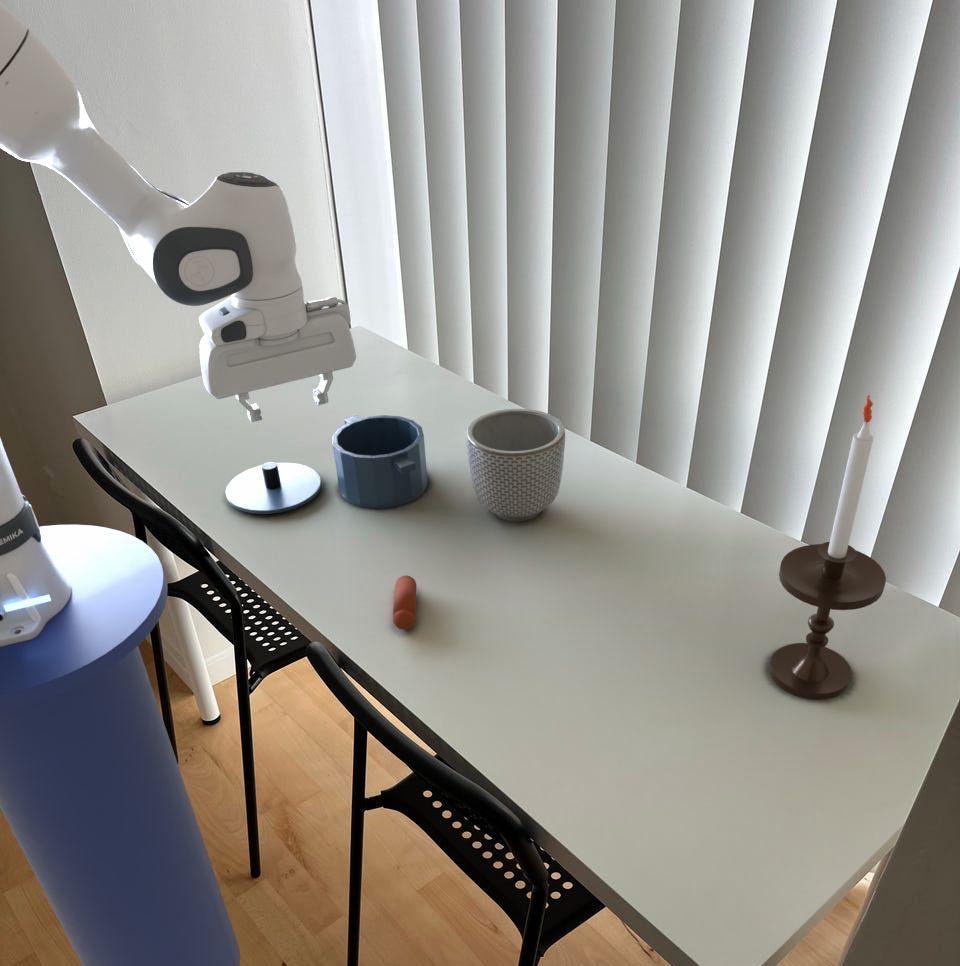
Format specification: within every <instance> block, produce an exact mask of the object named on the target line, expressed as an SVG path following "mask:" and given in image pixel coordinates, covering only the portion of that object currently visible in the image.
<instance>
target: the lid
mask: <svg viewBox="0 0 960 966" xmlns="http://www.w3.org/2000/svg"><path fill="white" fill-rule="evenodd" d="M321 488H322V479H321V477H320V474H319V473H318V472H317V471H316V470H315V469H313V468H311V467H310V466H307V465H304V464H301V463H294V462H276V461H266V462H264V463H262V464H260V465H258V466H254V467H251V468H249V469H246V470H245V471H243V472H240V473H238V475H236V476H234V477H233V478H232V479H231V480H230V481H229V483H227V485H226V487H225V498H226V501H227V502H228V504H230V506H231V507H233V508H234V509H236V510H238V511H241V512H245V513H249V514H256V515H269V514H271V515H272V514H278V513H283V512H288V511H291V510H294V509H297V508H300V507H301V506H303V505H306V504H307V503H308V502H310V501H312V500H313V499H314V498H315V497H317V495H318V494H319V492H320V491H321Z"/></svg>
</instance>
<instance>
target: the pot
mask: <svg viewBox="0 0 960 966" xmlns="http://www.w3.org/2000/svg"><path fill="white" fill-rule="evenodd" d="M343 419H344V425H342V426H340V427H339V428H337V430H336V431H335V432H334V433H333V435H332V437H331V438H332V439H331V441H332V450H333V457H334V462H335V470H336V476H337V482H338V483H337V484H338V488H339V493H340V495H341V497H342V498H343V499H344V500H345V501H346V502H348V503H349V504H351V505H354V506H357V507H360V508H366V509H389V508H394V507H398V506H399V507H400V506H402V505H405V504H408V503H410V502H413V501H414V500H416V499H418V498H419V497H420V496H422V495H423V493H424V492H425V491H426V489H427V487H428V481H429V480H428V470H427V469H428V468H427V455H426V445H425V444H426V443H425V434H424V430H423V427H422V426H421V425H420V424H418V423H417V422H416V421H415V420H413V419H410V418H406V417H403V416H400V415H389V414H387V415H386V414H381V415H372V416H371V415H370V416H364V417H361V416H360V415H358V414H357V415H353V416H350V417H346V418H343Z"/></svg>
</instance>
